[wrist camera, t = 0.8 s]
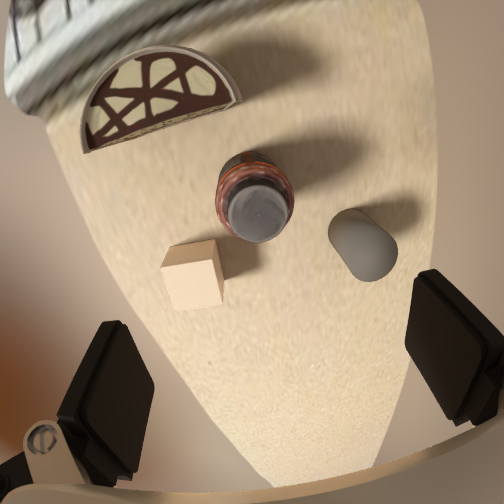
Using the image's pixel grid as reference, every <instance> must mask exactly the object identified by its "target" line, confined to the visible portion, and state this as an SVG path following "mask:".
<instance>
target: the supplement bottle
mask: <svg viewBox="0 0 504 504" xmlns="http://www.w3.org/2000/svg"><path fill="white" fill-rule="evenodd" d="M215 206H216V212H217V215H218V218H219V220H220V221H221V223H222V224H223V226H224V227H225V228H226V229H227V230H228V231H229V232H230V233H232V234H233V235H235V236H237V237H239V238H242V239H244V240H246V241H250V242H255V243H259V242H265V241H269V240H271V239H273V238H274V237H276V236H277V235H279V233H280V232H281V231H282V230H283V228H284V227H285V226H286V224H287V223H288V221H289V220H290V218H291V216H292V213H293V209H294V193H293V190H292V187H291V185H290V183H289V181H288V179H287V178H286V177H285V176H284V174H283V173H282V172H281V171H280V170H279V168H278V167H277V166H276V165H275V164H274V163H273V162H272V161H271V160H270V159H268V158H267V157H266V156H264V155H261V154H259V153H254V152H245V153H240V154H237V155H235V156H234V157H232V158H231V159H229V160H228V161H227V162H226V164H225V165H224V166H223V168H222V170H221V172H220V176H219V180H218V185H217V190H216V198H215Z"/></svg>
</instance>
